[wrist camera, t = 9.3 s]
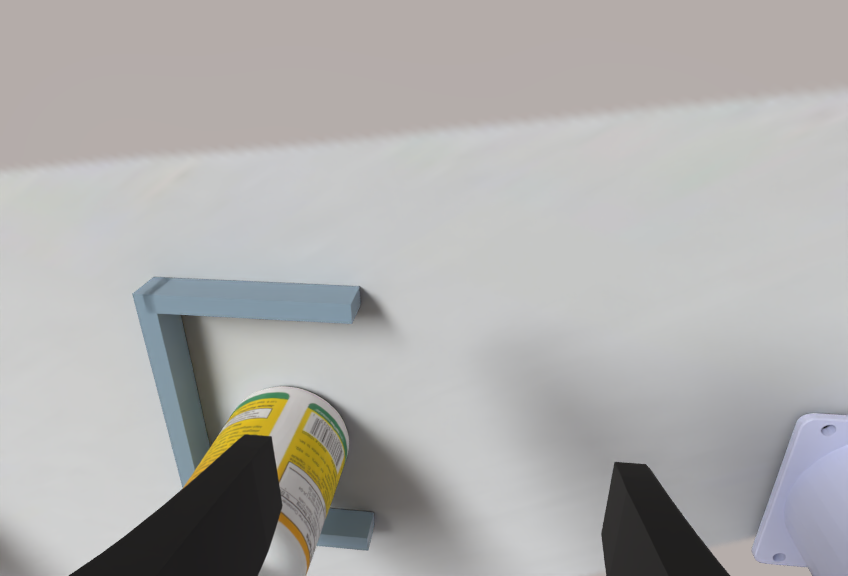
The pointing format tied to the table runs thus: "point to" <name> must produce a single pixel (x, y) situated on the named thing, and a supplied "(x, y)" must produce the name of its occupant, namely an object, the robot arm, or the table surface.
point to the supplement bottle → (292, 466)
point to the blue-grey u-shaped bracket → (175, 375)
